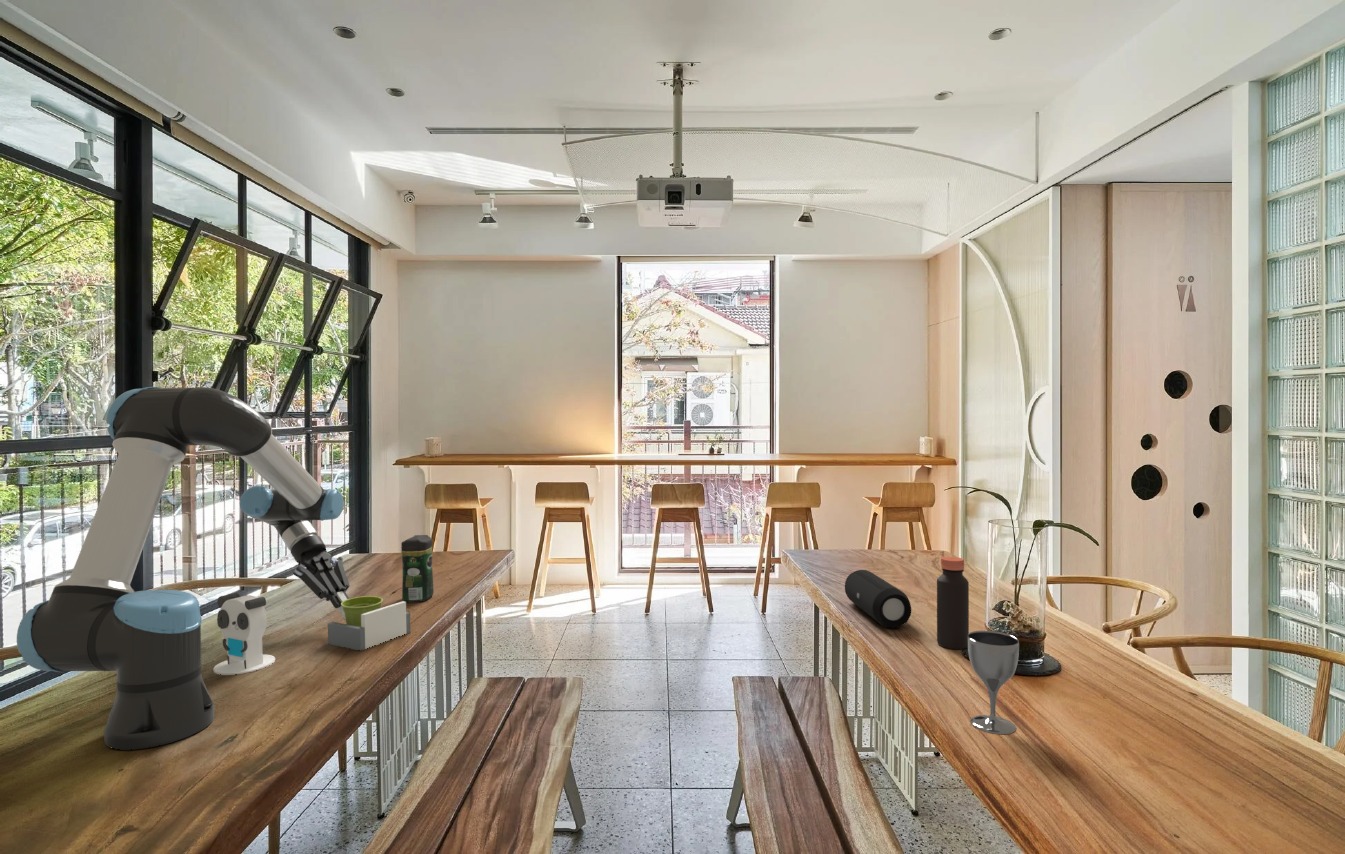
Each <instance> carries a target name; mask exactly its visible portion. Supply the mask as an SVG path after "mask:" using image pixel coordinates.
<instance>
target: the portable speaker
mask: <svg viewBox="0 0 1345 854" xmlns="http://www.w3.org/2000/svg"><path fill="white" fill-rule="evenodd" d="M844 592H845V595H846V597H847V598H848V600H850V602H852V603H853V604H854V605H856V606H857V607H858V608H860V610H861V611H864V613H865V614H867V615H869V617H871V618H872V619H874V620H875V621H876V622H877V623H878V624H880V625H881V626H883V627H884V628H888V627H892V628H898V627H899V628H900V627H901V626H903V625H906V623H907V622H908V621H909V620H910V618H911V615H912V606H911V605H912V604H911V601H910V600H909V597H908V596H907V594H906V593H904V591H902V590H901V589H899V588H897V587H896V586H894V585H892V584H891V583H889V582H888V581H886V580H884V579H883V578H881V577H880V576H878V575H876V574H875V573H873V572H871V571H870V570H867V569H857V570H855V571H853V572H851V573H850V574H848V576H847V577H846V580H845V582H844Z"/></svg>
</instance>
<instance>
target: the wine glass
mask: <svg viewBox="0 0 1345 854" xmlns="http://www.w3.org/2000/svg"><path fill="white" fill-rule="evenodd" d="M967 652H968V657H969V658H968V659H969V662H970V665H971V668H972V670H973V671H974V673H975V674H976V675H977V676H978V677H979V679H980V680H981V681H982V682H983V684H984V686H986V689H987V691H988V697H989V705H990V706H989V707H990V711H989V712H990V714H989V715H988V714H979V715H975V716H973V717H971V718H970V724H971V725H972V726H973V727H975V728H976V729H978V730H980V731H982V732H986V733H989V734H993V735H1011V734H1014V732H1016V730H1017V727H1016V725H1015V724H1014V723H1013V722H1011V721H1010V720H1008V719H1006V718H1004V717H1000V716H996V707H997V706H996V705H997V704H996V703H997V697H998V692H999V690H1000V689H1001V688H1002V686H1003V685H1005V683H1007V682H1008V681H1009V680H1010V679H1011V678H1012V677H1013V676H1014V675H1015V673H1016V669H1017V666H1018V662H1019V658H1020V655H1019V654H1020V653H1019V652H1020V641H1019V638H1017V637H1015V636H1014V635H1011V634H1008V633H1005V632H1001V631H996V630H995V631H994V630H975V631H974V630H973V631H969V634H968V647H967Z"/></svg>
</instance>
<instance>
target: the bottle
mask: <svg viewBox="0 0 1345 854" xmlns="http://www.w3.org/2000/svg"><path fill="white" fill-rule="evenodd" d="M940 567H941V570H942V573H941V574H940V575H939V576H938V578H936V643H937V644H938V645H939V646H940V647H942V648H945V649H949V650H965V649H968V634H969V633H970V629H969V628H970V626H969V625H970V624H969V623H970V622H969V621H970V620H969V619H970V617H969V616H970V615H969V614H970V613H969V611H970V610H969V609H970V607H969V606H970V605H969V604H970V599H969V597H970V596H969V594H970V593H969V589H970V588H969V587H970V585H969V584H970V583H969V581H968V579H967V578H966V577H965V576H964V575H963V572H965V559H963V558H961V557H957V556H943V557H941V559H940Z"/></svg>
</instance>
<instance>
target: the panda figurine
mask: <svg viewBox="0 0 1345 854" xmlns="http://www.w3.org/2000/svg"><path fill="white" fill-rule="evenodd" d="M266 600H267V599H266V597H264V596H260V597H257V596H254V595H243V596H240V594H239V593H238V592H234V593H233V592H232V593H230V594H229V593H228V594H225V595H220V596H219V597H218V598H217V602H216V603H217V606H218V608H220V610H218V612H217V619H216V620H217V621H216V622H217V626H218V628H219V629H220V632H221V633H222V635H223V637H224V638H223V639H222V647H223V649H224V650H225V651H226V658H227V660H224V661H222V662H219V663H218V664H215V666H214V667H213V673H214V674H217V675H220V674H221V675H222V676H235V674H237V675H242V674H249V673H253V672H257V671H260V670H262V669H265V667H266V668H268V667H270V666H271V665H273V664H274V663H275V661H276V657H275V656H273V655H271V654H268V653H267V654H264V653H263V635H264V634H265V633H266V630H267V626H268V617H267V611H266V607H265V606H267V601H266ZM272 663H273V664H272ZM269 665H270V666H269ZM256 670H257V671H256Z"/></svg>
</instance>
